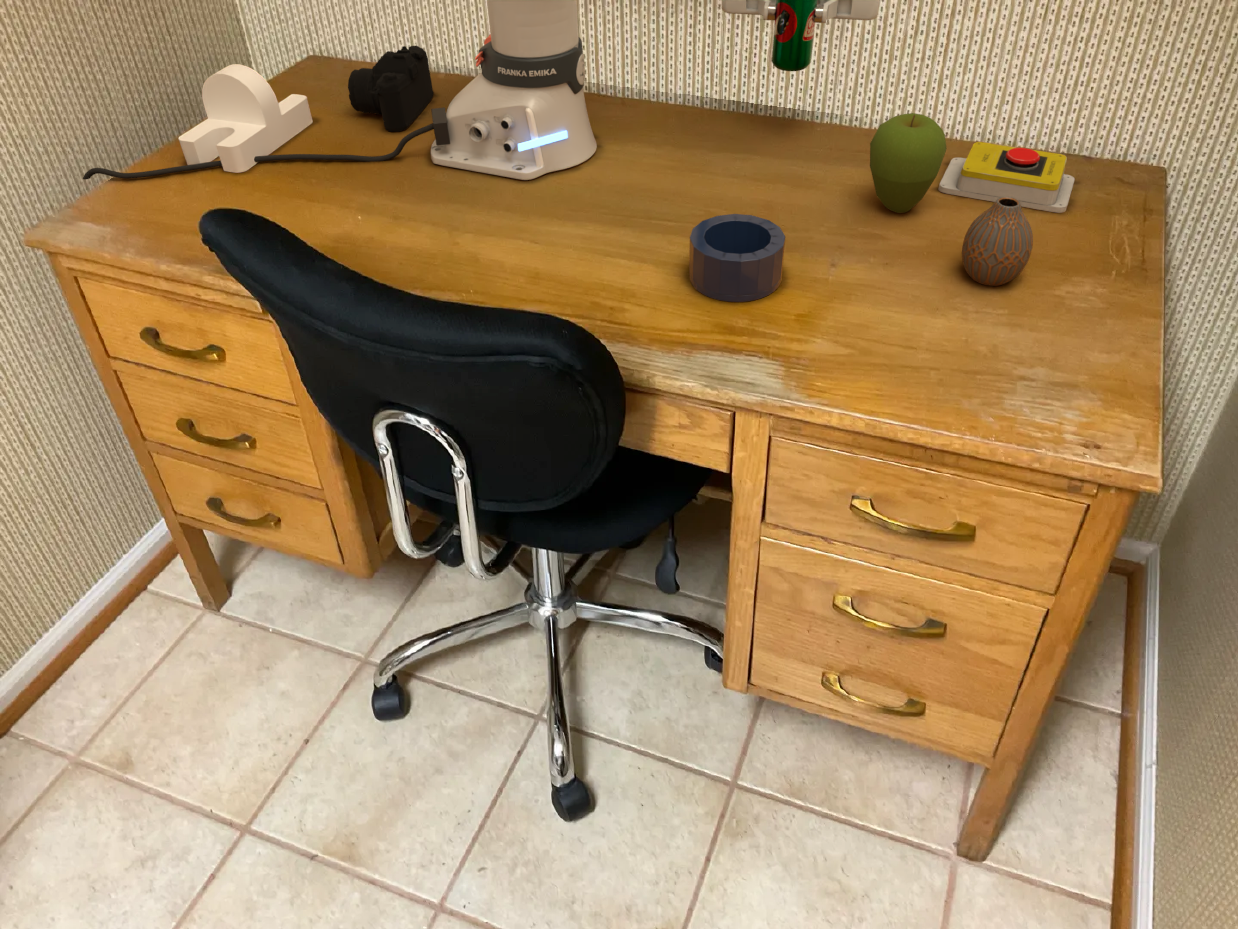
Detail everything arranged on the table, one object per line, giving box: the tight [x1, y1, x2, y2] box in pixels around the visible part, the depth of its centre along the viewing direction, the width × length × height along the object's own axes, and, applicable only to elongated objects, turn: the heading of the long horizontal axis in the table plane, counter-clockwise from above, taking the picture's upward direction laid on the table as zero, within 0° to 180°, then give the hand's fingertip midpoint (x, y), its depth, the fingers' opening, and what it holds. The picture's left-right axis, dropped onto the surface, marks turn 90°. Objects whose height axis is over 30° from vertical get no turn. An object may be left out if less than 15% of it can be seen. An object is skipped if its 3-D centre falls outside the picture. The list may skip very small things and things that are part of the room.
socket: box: [688, 213, 786, 303], centre depth 105 cm, size 10×10×5 cm
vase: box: [961, 197, 1034, 287], centre depth 102 cm, size 7×7×9 cm
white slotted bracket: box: [178, 63, 313, 174], centre depth 134 cm, size 10×18×10 cm, turn 161°
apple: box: [869, 112, 948, 214], centre depth 113 cm, size 9×8×12 cm
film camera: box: [347, 45, 435, 133], centre depth 141 cm, size 15×10×9 cm, turn 169°
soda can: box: [771, 0, 817, 72], centre depth 122 cm, size 5×5×12 cm
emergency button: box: [938, 141, 1076, 214], centre depth 119 cm, size 9×4×15 cm
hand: (795, 15), depth 121 cm, fingers closed on soda can, 5 cm apart
